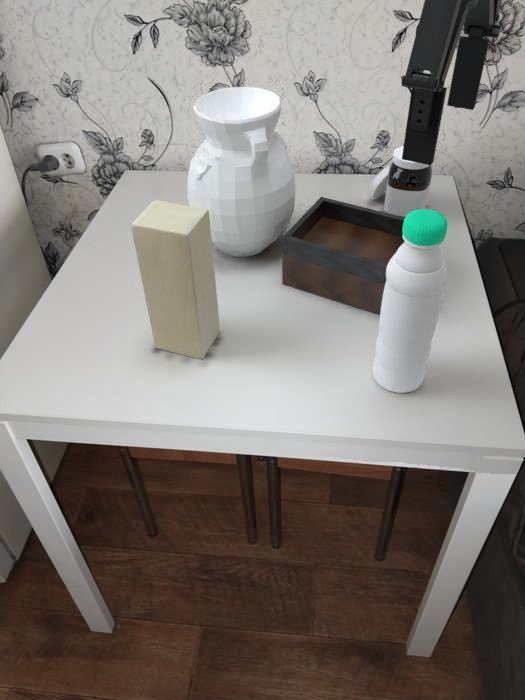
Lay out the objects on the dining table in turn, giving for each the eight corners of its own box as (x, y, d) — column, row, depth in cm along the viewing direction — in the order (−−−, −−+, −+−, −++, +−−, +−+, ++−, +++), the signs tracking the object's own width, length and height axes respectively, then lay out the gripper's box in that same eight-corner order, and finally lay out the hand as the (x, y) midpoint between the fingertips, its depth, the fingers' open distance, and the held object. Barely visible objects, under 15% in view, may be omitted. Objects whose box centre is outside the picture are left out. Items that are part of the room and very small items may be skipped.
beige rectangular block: (223, 328, 90) (211, 205, 75) (204, 360, 85) (186, 235, 70) (176, 317, 92) (155, 196, 77) (154, 348, 87) (127, 225, 72)
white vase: (314, 253, 103) (319, 110, 86) (217, 283, 98) (201, 137, 80) (268, 205, 115) (264, 71, 98) (179, 229, 110) (158, 92, 93)
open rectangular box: (416, 268, 99) (424, 222, 93) (385, 317, 90) (392, 269, 84) (319, 241, 106) (321, 196, 99) (282, 284, 97) (281, 237, 91)
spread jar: (421, 228, 108) (432, 169, 100) (360, 220, 110) (365, 161, 102) (429, 196, 116) (439, 139, 108) (371, 189, 119) (377, 132, 111)
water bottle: (363, 365, 83) (382, 207, 66) (408, 353, 84) (439, 196, 67) (385, 400, 78) (412, 240, 61) (433, 387, 79) (473, 227, 62)
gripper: (486, -167, 52) (442, 82, 67) (380, -137, 37) (354, 178, 51) (577, -167, 49) (510, 93, 64) (504, -134, 34) (438, 198, 48)
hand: (440, 132), depth 58 cm, fingers open, 13 cm apart
